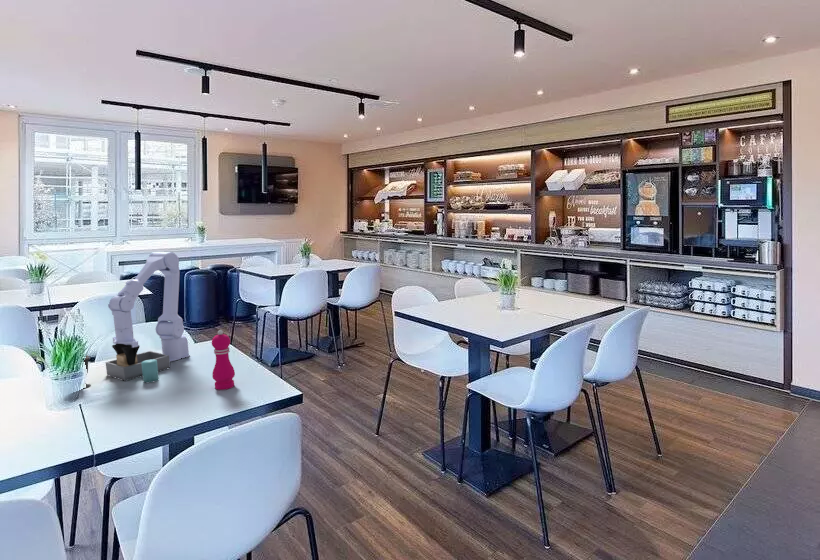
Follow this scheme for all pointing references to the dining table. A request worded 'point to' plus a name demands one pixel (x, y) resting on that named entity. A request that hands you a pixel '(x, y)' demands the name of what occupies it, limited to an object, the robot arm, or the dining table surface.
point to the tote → (136, 365)
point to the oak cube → (123, 360)
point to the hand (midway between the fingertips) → (127, 363)
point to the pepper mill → (222, 362)
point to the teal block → (150, 370)
